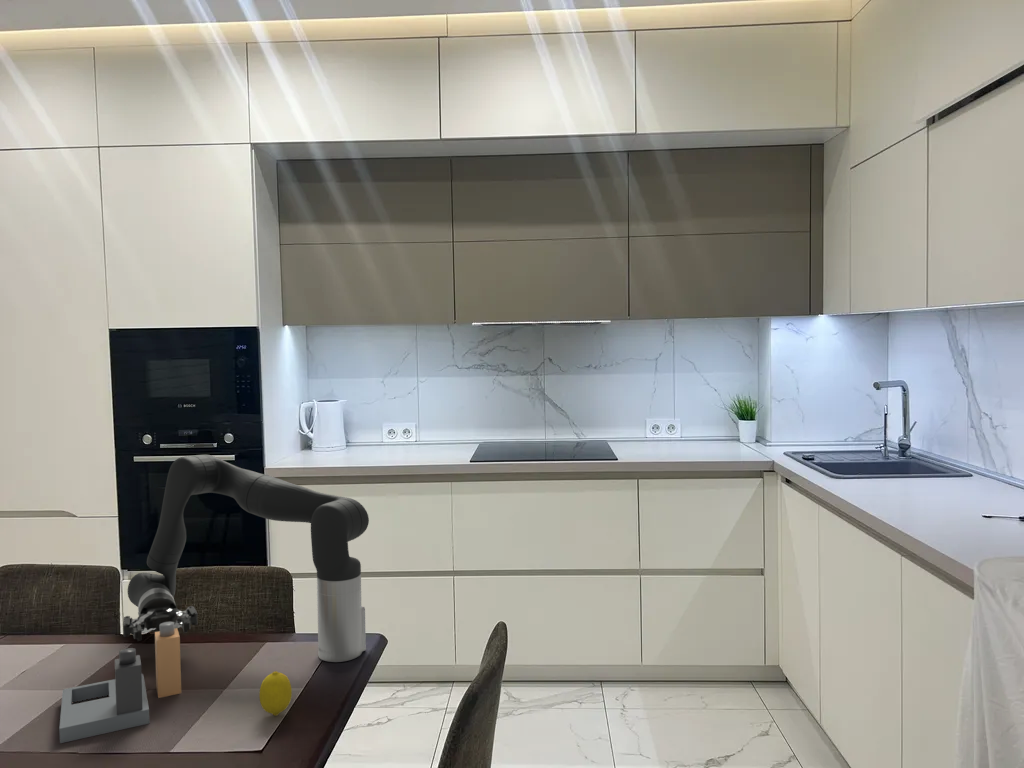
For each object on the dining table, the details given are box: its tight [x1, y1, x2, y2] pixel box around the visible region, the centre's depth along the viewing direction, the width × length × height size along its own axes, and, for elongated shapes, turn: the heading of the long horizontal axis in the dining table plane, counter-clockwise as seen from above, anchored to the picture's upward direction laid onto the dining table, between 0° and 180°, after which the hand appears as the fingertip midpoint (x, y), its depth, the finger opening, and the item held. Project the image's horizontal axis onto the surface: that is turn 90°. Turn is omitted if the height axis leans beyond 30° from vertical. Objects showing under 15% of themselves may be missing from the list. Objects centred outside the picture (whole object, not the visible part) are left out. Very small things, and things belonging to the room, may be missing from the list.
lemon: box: [258, 670, 293, 717], centre depth 134 cm, size 6×6×8 cm
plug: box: [154, 622, 182, 699], centre depth 144 cm, size 4×5×13 cm
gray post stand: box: [58, 647, 150, 744], centre depth 135 cm, size 14×17×12 cm
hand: (163, 631), depth 153 cm, fingers open, 8 cm apart
